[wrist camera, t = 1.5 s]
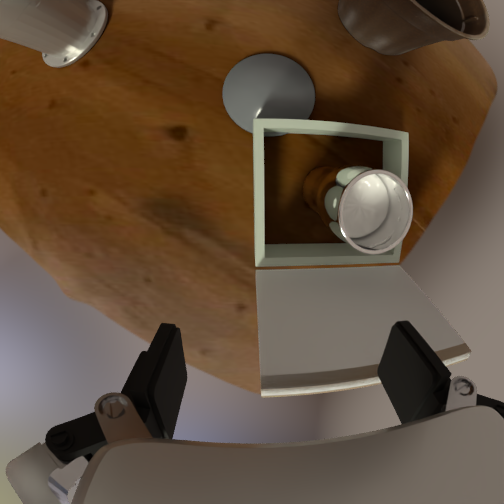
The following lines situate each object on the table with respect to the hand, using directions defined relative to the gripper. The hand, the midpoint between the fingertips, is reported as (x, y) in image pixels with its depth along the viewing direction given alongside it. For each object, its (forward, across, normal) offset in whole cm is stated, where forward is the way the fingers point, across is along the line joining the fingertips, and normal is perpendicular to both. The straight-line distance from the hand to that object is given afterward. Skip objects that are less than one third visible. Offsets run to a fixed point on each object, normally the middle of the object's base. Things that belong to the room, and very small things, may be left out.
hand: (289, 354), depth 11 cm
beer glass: (+25, -8, -5) cm, 26 cm away
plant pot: (+25, -16, -31) cm, 43 cm away
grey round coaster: (+24, 0, -16) cm, 29 cm away
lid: (+11, -8, +5) cm, 15 cm away
